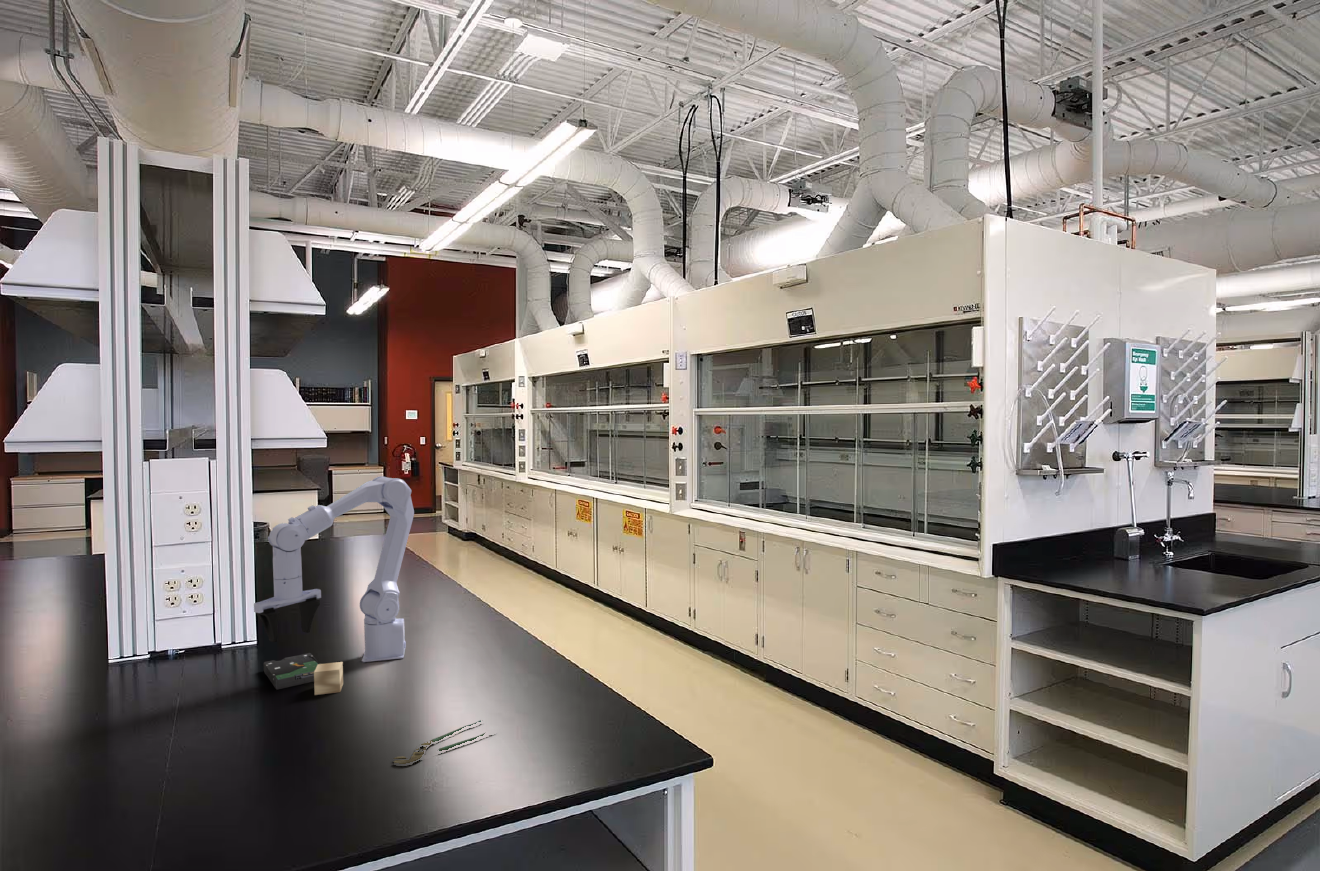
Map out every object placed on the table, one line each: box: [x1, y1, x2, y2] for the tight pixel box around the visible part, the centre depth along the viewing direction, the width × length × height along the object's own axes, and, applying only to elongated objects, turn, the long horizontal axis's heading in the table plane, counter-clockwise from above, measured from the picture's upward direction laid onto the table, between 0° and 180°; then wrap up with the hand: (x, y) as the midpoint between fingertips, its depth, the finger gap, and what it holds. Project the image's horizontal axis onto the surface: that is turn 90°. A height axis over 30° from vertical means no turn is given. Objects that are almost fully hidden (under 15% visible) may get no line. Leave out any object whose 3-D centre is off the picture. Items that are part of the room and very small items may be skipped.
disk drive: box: [263, 652, 321, 691], centre depth 165 cm, size 10×3×15 cm
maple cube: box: [313, 661, 344, 696], centre depth 156 cm, size 5×5×5 cm
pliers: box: [392, 719, 486, 764], centre depth 130 cm, size 20×6×1 cm, turn 136°
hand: (289, 636), depth 163 cm, fingers open, 7 cm apart
